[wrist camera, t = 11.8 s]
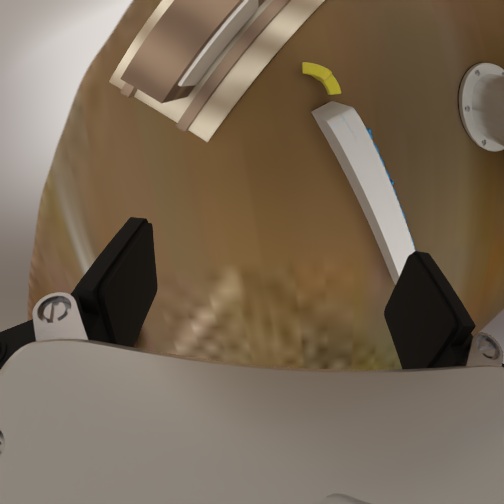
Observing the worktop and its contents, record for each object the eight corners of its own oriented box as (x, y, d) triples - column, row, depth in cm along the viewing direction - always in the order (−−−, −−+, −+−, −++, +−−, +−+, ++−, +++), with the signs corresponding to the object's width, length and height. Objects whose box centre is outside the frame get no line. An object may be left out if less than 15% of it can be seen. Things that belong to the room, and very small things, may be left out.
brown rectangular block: (230, -22, 21) (219, -54, 14) (269, 0, 23) (272, -28, 15) (153, 76, 27) (117, 77, 20) (189, 98, 29) (164, 105, 21)
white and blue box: (411, 266, 41) (438, 310, 33) (390, 277, 42) (413, 324, 34) (314, 56, 27) (335, 46, 19) (285, 71, 28) (294, 66, 20)
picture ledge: (246, -80, 17) (244, -90, 15) (347, -22, 21) (355, -30, 19) (114, 81, 29) (102, 82, 26) (209, 139, 33) (204, 145, 30)
